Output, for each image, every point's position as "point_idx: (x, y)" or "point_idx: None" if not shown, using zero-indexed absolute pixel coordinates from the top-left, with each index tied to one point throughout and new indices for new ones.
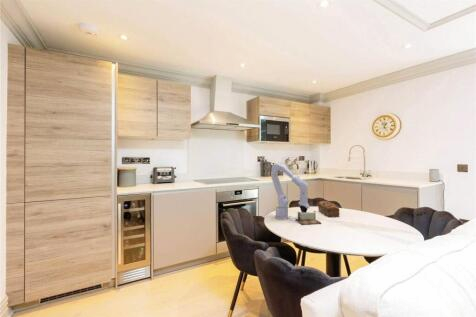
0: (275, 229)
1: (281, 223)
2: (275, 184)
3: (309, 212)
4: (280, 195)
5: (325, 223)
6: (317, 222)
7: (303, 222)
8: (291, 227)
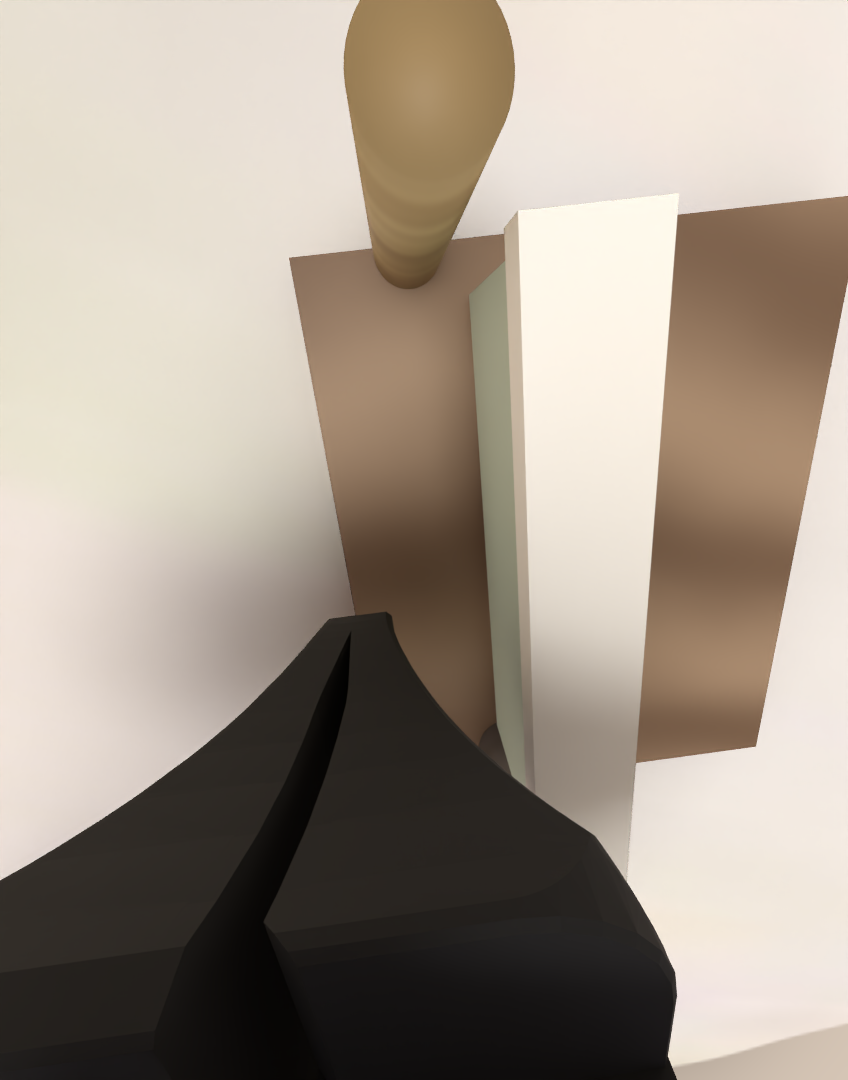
0: (773, 1035)
1: None
2: None
3: (604, 582)
4: None
5: (842, 3)
6: (817, 335)
7: (686, 695)
8: (780, 884)
